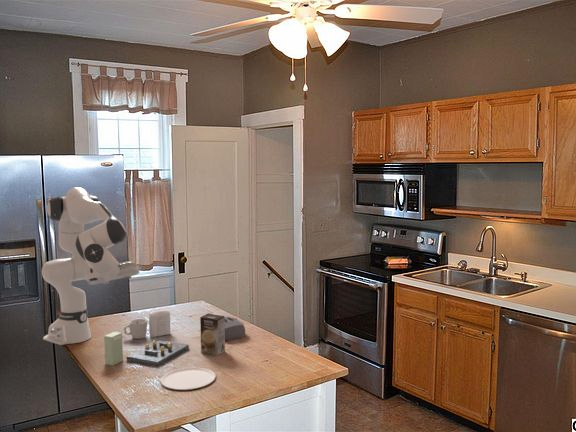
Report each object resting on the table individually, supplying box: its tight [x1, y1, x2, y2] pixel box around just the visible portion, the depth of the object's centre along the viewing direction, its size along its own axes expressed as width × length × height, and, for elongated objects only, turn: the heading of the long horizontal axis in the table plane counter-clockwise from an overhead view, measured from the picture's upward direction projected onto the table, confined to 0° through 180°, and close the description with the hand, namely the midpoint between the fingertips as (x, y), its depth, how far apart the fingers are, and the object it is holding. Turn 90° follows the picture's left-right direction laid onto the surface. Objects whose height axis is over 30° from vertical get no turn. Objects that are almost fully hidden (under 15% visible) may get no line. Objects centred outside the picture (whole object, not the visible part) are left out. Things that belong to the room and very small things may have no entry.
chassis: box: [126, 339, 190, 368], centre depth 229 cm, size 16×22×5 cm
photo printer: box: [148, 309, 171, 338], centre depth 255 cm, size 10×4×12 cm, turn 123°
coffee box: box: [199, 313, 226, 356], centre depth 231 cm, size 9×6×16 cm
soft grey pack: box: [225, 316, 246, 341], centre depth 255 cm, size 15×8×20 cm
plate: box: [160, 366, 217, 391], centre depth 202 cm, size 21×21×1 cm
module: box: [103, 331, 124, 366], centre depth 220 cm, size 4×6×12 cm
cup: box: [123, 318, 148, 340], centre depth 251 cm, size 11×8×8 cm
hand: (118, 279), depth 218 cm, fingers open, 8 cm apart
